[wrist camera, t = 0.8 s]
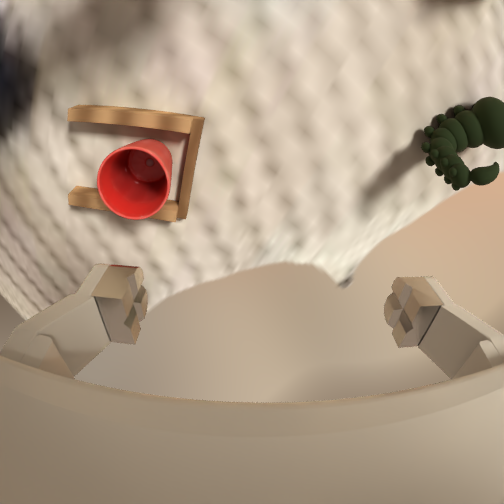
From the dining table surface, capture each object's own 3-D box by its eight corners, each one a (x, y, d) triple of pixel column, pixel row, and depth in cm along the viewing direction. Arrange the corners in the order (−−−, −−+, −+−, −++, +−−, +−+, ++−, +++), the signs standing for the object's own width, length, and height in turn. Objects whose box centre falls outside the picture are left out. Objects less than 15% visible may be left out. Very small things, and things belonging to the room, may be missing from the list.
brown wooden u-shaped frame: (204, 117, 40) (202, 122, 37) (187, 213, 50) (184, 223, 47) (78, 104, 36) (68, 108, 33) (77, 195, 46) (68, 204, 43)
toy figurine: (415, 163, 47) (501, 121, 38) (467, 219, 32) (562, 161, 23) (399, 120, 42) (492, 80, 33) (458, 164, 27) (560, 111, 18)
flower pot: (196, 159, 44) (186, 183, 36) (153, 202, 48) (137, 233, 40) (148, 115, 39) (127, 130, 31) (108, 163, 43) (83, 188, 35)
